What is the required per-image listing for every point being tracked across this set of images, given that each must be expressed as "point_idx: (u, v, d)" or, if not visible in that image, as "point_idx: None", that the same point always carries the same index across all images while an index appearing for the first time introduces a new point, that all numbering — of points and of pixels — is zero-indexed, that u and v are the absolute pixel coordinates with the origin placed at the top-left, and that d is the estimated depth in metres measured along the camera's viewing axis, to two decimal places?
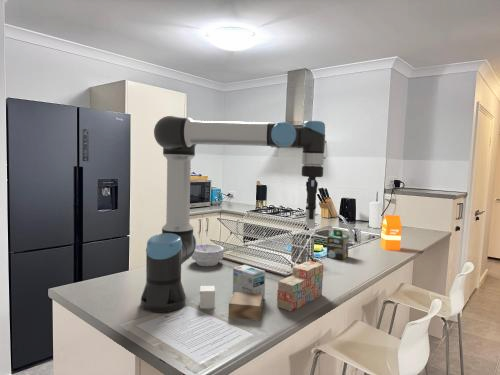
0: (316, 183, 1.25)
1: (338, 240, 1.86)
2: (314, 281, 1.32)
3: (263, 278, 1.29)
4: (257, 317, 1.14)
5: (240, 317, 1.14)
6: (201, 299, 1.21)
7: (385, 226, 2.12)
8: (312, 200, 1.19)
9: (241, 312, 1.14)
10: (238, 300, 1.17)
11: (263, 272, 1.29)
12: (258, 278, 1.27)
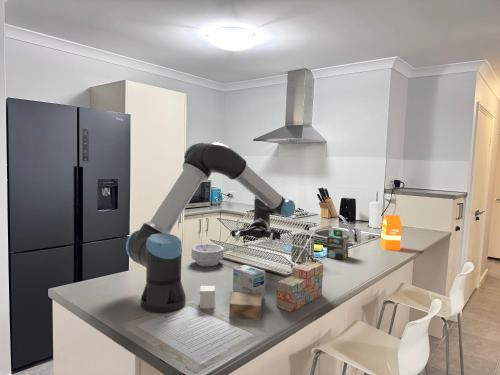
0: (253, 227, 1.55)
1: (338, 240, 1.86)
2: (313, 281, 1.31)
3: (263, 278, 1.29)
4: (258, 317, 1.14)
5: (241, 317, 1.14)
6: (201, 299, 1.21)
7: (385, 226, 2.12)
8: None
9: (242, 312, 1.14)
10: (239, 300, 1.17)
11: (263, 272, 1.29)
12: (258, 278, 1.27)
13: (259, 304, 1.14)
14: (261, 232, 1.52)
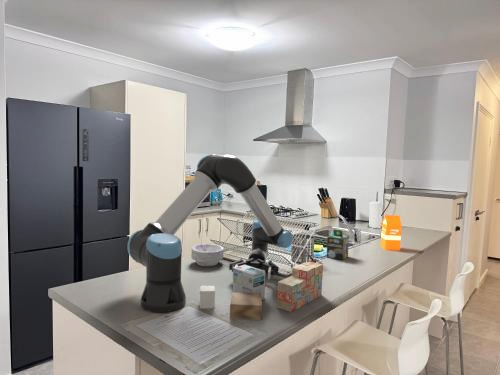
0: (251, 259, 1.54)
1: (338, 240, 1.86)
2: (313, 281, 1.31)
3: (263, 278, 1.29)
4: (259, 316, 1.14)
5: (242, 317, 1.14)
6: (201, 299, 1.21)
7: (385, 226, 2.12)
8: None
9: (242, 312, 1.14)
10: (239, 301, 1.17)
11: (263, 272, 1.29)
12: (258, 278, 1.27)
13: (260, 304, 1.15)
14: (259, 265, 1.50)
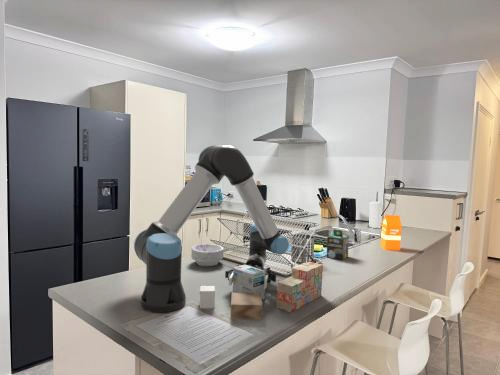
0: None
1: (338, 240, 1.86)
2: (313, 282, 1.31)
3: (263, 278, 1.29)
4: (260, 316, 1.14)
5: (243, 317, 1.14)
6: (201, 299, 1.21)
7: (385, 226, 2.12)
8: None
9: (243, 312, 1.14)
10: (239, 301, 1.17)
11: (263, 272, 1.29)
12: (258, 278, 1.27)
13: (260, 303, 1.15)
14: None
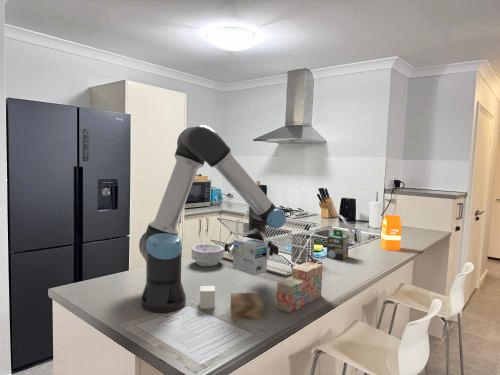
0: None
1: (338, 240, 1.86)
2: (313, 282, 1.31)
3: (265, 249, 1.22)
4: (260, 316, 1.15)
5: (244, 317, 1.14)
6: (201, 299, 1.21)
7: (385, 226, 2.12)
8: None
9: (244, 312, 1.14)
10: (240, 301, 1.16)
11: (265, 243, 1.22)
12: (260, 249, 1.20)
13: (261, 303, 1.15)
14: None
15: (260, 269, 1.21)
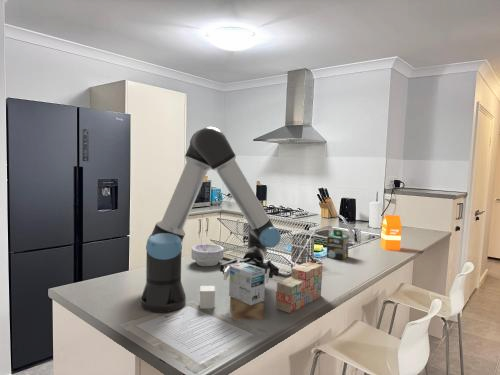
0: None
1: (338, 240, 1.86)
2: (313, 282, 1.30)
3: (263, 277, 1.16)
4: (261, 316, 1.15)
5: (244, 318, 1.14)
6: (201, 299, 1.21)
7: (385, 226, 2.12)
8: None
9: (245, 312, 1.14)
10: (240, 301, 1.16)
11: (263, 271, 1.16)
12: (257, 277, 1.14)
13: (261, 303, 1.15)
14: (256, 266, 1.27)
15: (257, 299, 1.15)
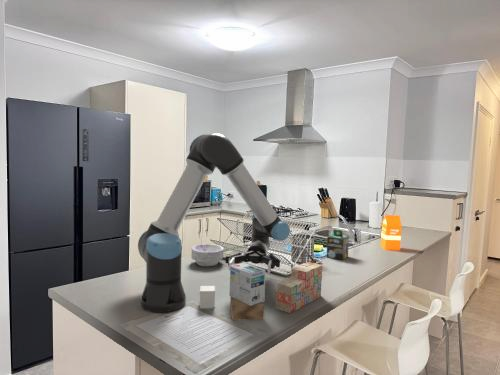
0: None
1: (338, 240, 1.86)
2: (313, 282, 1.30)
3: (263, 278, 1.16)
4: (261, 316, 1.15)
5: (244, 318, 1.14)
6: (201, 299, 1.21)
7: (385, 226, 2.12)
8: None
9: (245, 313, 1.14)
10: (240, 302, 1.16)
11: (263, 271, 1.16)
12: (257, 277, 1.14)
13: (262, 303, 1.15)
14: (259, 258, 1.36)
15: (257, 299, 1.15)
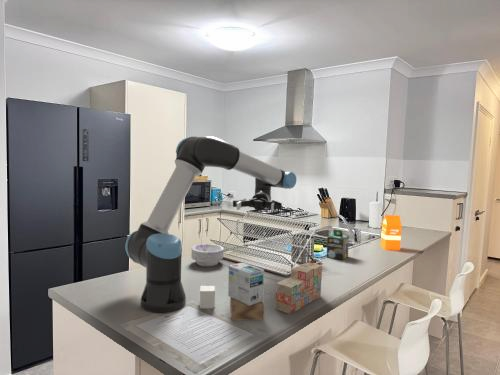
0: None
1: (338, 240, 1.86)
2: (312, 283, 1.30)
3: (262, 277, 1.16)
4: (261, 317, 1.14)
5: (244, 318, 1.14)
6: (201, 299, 1.21)
7: (385, 226, 2.12)
8: None
9: (245, 313, 1.13)
10: (240, 302, 1.16)
11: (262, 271, 1.16)
12: (256, 277, 1.14)
13: (261, 304, 1.15)
14: (262, 203, 1.52)
15: (256, 299, 1.15)
